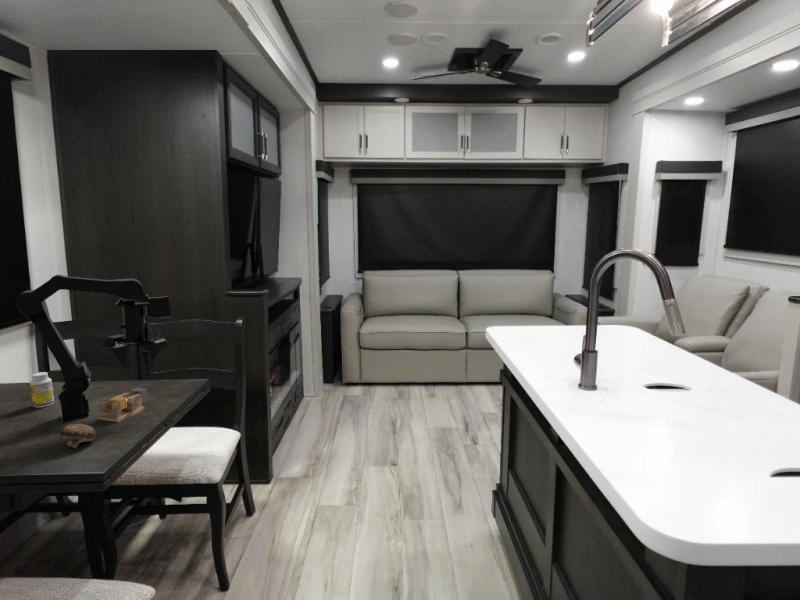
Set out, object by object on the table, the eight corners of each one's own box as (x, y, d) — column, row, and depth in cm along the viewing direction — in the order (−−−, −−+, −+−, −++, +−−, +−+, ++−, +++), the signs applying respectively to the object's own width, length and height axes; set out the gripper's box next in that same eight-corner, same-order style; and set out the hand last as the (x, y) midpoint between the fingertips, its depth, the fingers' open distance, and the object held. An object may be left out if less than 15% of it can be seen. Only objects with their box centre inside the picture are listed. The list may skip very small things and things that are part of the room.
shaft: (118, 414, 146) (116, 401, 146) (107, 413, 147) (105, 400, 147) (148, 401, 157) (147, 388, 156) (137, 399, 158) (136, 387, 158)
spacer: (120, 410, 147) (119, 400, 147) (109, 408, 148) (108, 399, 148) (127, 407, 149) (126, 397, 149) (116, 405, 151) (115, 396, 150)
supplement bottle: (35, 403, 160) (31, 372, 158) (56, 400, 162) (52, 370, 160) (30, 409, 155) (26, 377, 153) (51, 406, 157) (48, 375, 155)
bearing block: (118, 422, 145) (116, 405, 144) (99, 419, 147) (97, 403, 146) (145, 409, 154) (143, 394, 153) (126, 407, 156) (125, 391, 155)
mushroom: (63, 444, 123) (71, 419, 126) (50, 448, 127) (58, 424, 130) (97, 449, 128) (103, 425, 131) (83, 453, 133) (90, 430, 136)
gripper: (178, 317, 158) (181, 365, 160) (130, 314, 163) (133, 360, 166) (151, 324, 147) (154, 375, 150) (101, 320, 153) (105, 369, 155)
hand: (137, 369), depth 155 cm, fingers open, 9 cm apart
